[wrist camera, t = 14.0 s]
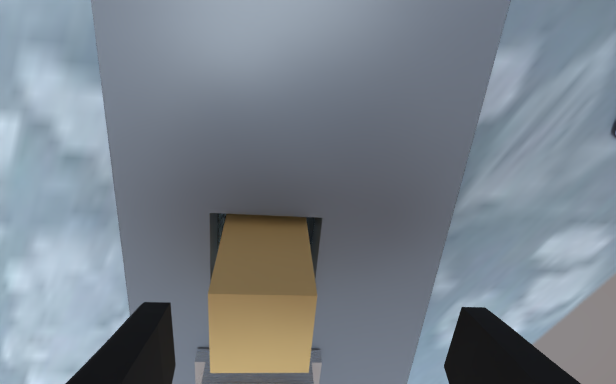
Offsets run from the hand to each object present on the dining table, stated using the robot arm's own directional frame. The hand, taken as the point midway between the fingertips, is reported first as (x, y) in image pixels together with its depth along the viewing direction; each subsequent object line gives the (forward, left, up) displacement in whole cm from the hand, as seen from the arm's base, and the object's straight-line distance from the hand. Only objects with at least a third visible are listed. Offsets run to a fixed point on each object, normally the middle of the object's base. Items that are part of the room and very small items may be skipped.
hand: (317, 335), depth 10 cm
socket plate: (0, +1, -10) cm, 10 cm away
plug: (+1, +3, -10) cm, 10 cm away
